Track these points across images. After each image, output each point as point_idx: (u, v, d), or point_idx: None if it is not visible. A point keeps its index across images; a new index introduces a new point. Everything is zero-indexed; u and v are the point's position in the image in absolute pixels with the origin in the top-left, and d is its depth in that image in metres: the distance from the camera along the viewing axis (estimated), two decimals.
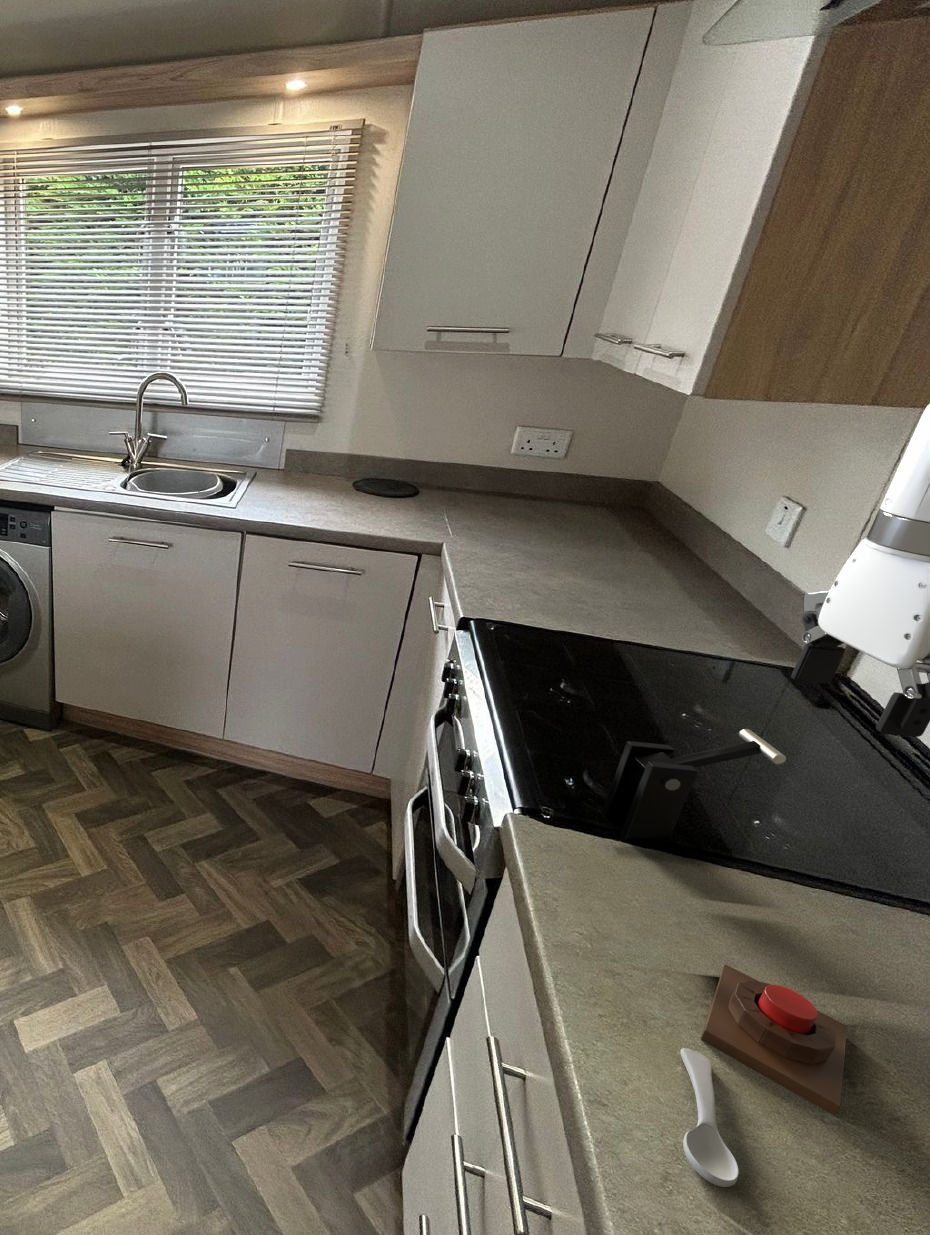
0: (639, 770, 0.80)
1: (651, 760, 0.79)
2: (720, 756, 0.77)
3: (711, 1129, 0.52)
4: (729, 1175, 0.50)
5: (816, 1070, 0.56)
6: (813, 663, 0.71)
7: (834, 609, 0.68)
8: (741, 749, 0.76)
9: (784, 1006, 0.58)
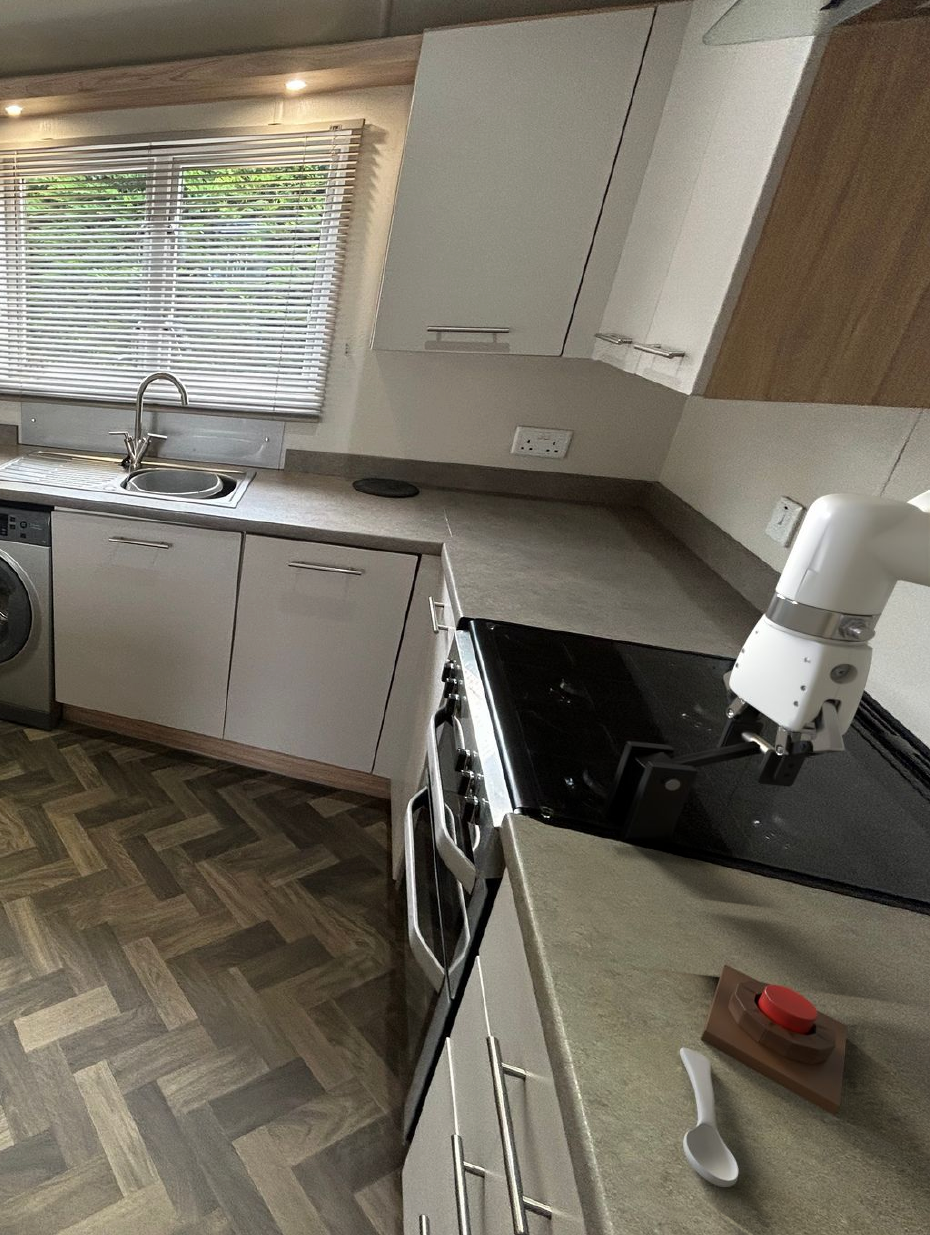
0: (639, 770, 0.80)
1: (651, 760, 0.79)
2: (720, 756, 0.77)
3: (711, 1128, 0.52)
4: (729, 1175, 0.50)
5: (816, 1070, 0.56)
6: (735, 736, 0.79)
7: (741, 674, 0.77)
8: (741, 749, 0.76)
9: (784, 1006, 0.58)
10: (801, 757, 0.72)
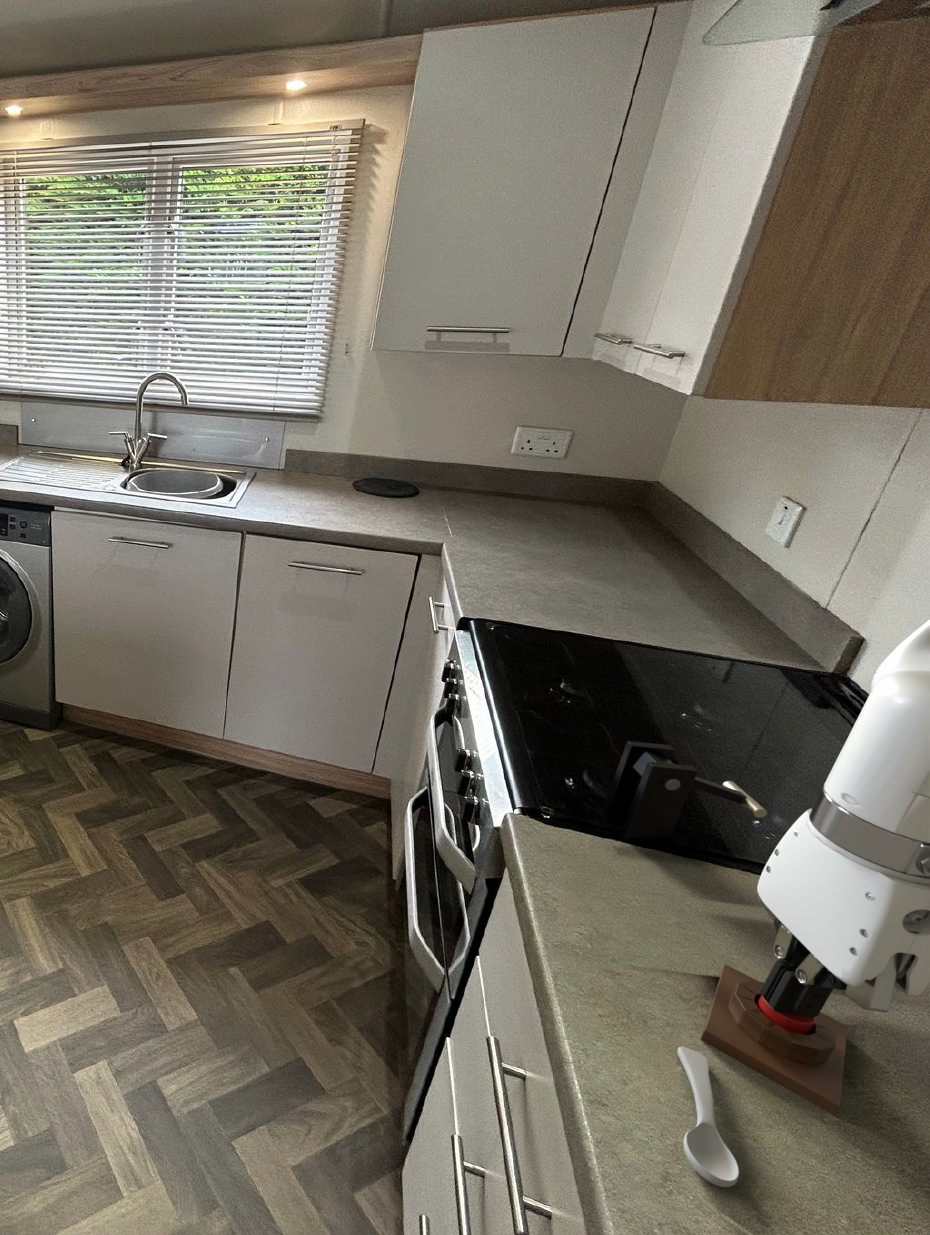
0: (639, 763, 0.80)
1: (660, 759, 0.79)
2: (712, 787, 0.78)
3: (711, 1128, 0.52)
4: (730, 1175, 0.50)
5: (816, 1070, 0.56)
6: None
7: (774, 883, 0.58)
8: (731, 791, 0.78)
9: None
10: (827, 987, 0.56)
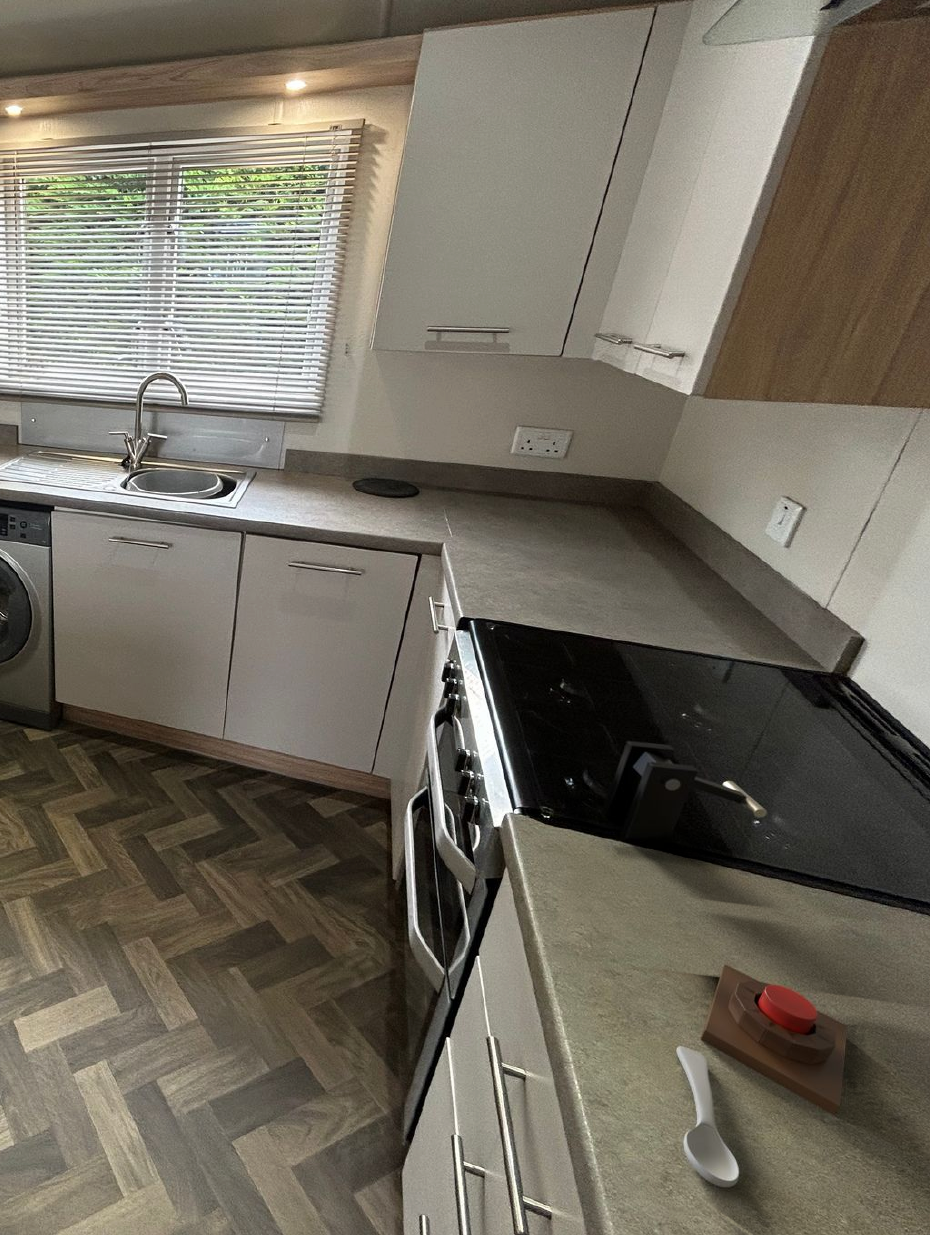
0: (639, 763, 0.80)
1: (660, 759, 0.79)
2: (712, 787, 0.78)
3: (710, 1128, 0.52)
4: (730, 1175, 0.50)
5: (816, 1070, 0.56)
6: None
7: None
8: (731, 791, 0.78)
9: (784, 1006, 0.58)
10: None
